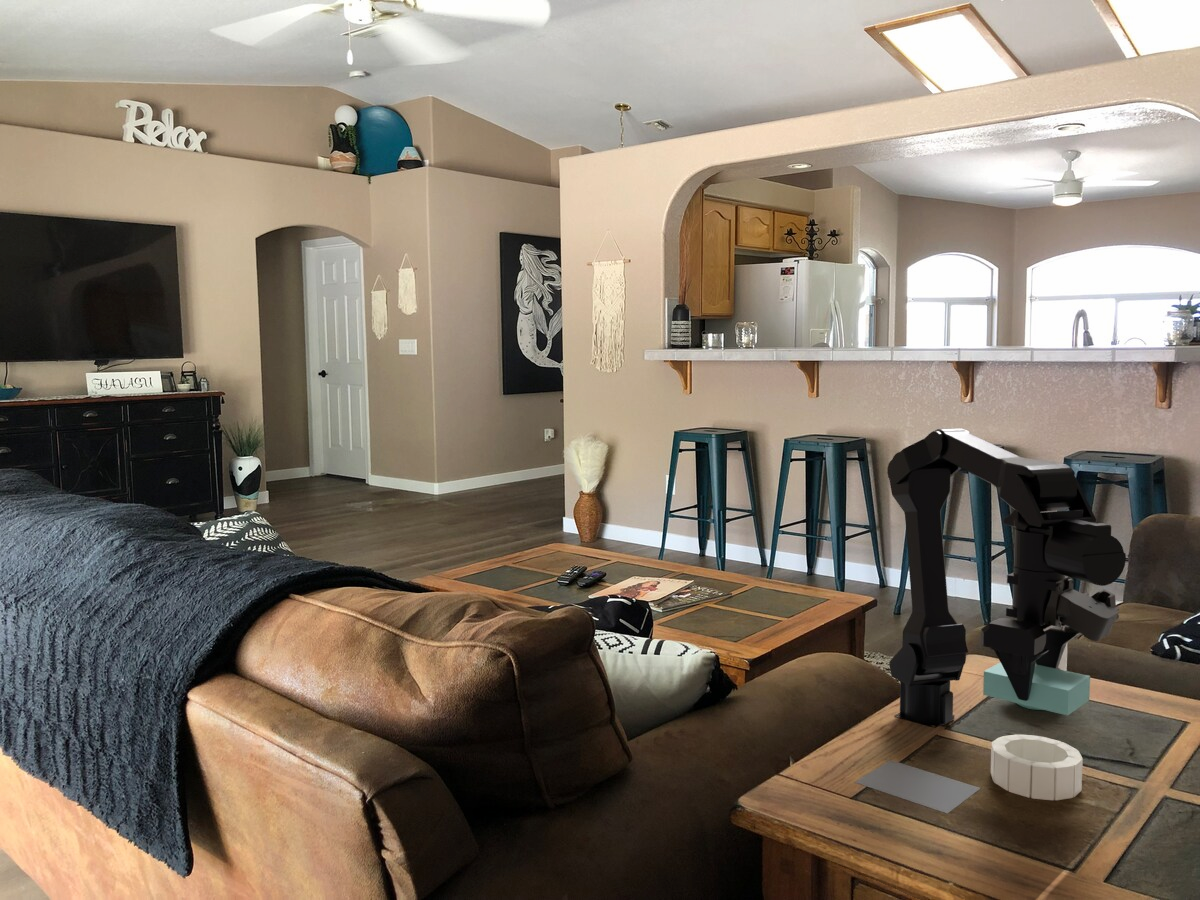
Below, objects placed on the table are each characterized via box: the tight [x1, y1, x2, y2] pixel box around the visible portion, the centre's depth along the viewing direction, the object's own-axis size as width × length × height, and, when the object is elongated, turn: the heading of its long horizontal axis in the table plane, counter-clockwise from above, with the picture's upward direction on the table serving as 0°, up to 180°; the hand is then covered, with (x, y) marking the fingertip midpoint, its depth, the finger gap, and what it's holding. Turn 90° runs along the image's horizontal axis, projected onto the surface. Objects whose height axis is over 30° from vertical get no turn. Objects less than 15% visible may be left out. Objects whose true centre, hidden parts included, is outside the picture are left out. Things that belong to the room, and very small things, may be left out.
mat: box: [854, 759, 982, 815], centre depth 118 cm, size 12×9×1 cm
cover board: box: [982, 661, 1091, 716], centre depth 117 cm, size 10×7×3 cm
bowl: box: [990, 733, 1084, 801], centre depth 118 cm, size 10×10×4 cm
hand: (1035, 692), depth 117 cm, fingers closed on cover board, 7 cm apart
